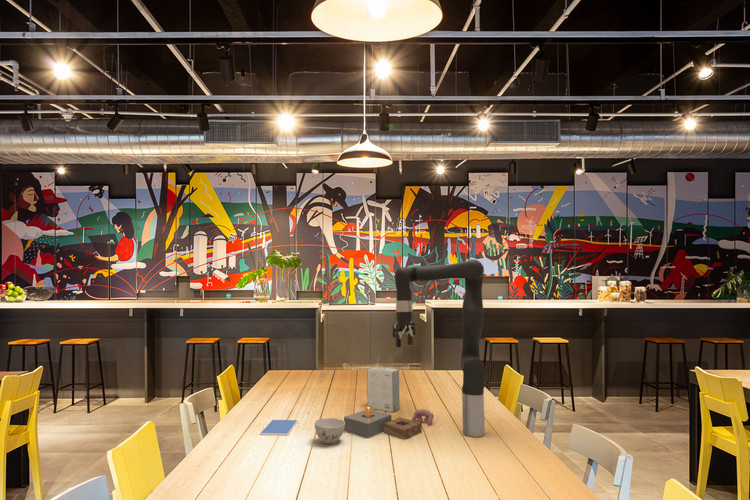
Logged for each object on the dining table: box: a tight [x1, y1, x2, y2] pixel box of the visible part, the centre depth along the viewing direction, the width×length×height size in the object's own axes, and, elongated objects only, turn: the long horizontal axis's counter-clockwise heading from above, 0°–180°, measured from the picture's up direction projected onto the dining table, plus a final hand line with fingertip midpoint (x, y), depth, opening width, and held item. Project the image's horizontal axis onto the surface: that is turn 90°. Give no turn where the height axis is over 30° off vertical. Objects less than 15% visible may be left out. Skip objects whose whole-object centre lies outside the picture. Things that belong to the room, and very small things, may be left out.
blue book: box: [259, 419, 299, 437], centre depth 199 cm, size 19×13×1 cm, turn 177°
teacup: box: [314, 417, 345, 445], centre depth 183 cm, size 15×12×8 cm
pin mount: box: [382, 416, 423, 440], centre depth 192 cm, size 12×12×4 cm
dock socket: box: [343, 409, 392, 439], centre depth 196 cm, size 16×14×6 cm
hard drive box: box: [366, 366, 401, 413], centre depth 229 cm, size 16×8×20 cm, turn 58°
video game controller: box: [410, 408, 434, 427], centre depth 206 cm, size 10×5×7 cm, turn 60°
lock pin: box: [364, 405, 372, 418], centre depth 196 cm, size 3×3×10 cm
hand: (404, 346), depth 202 cm, fingers open, 8 cm apart
